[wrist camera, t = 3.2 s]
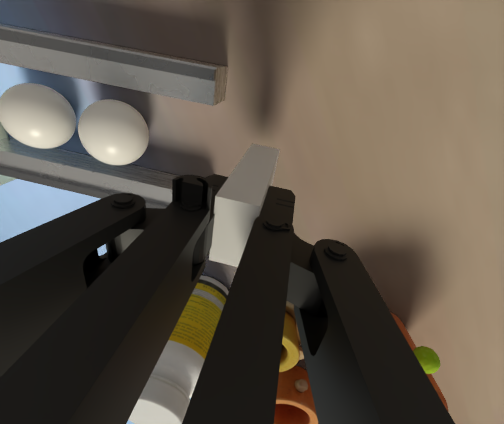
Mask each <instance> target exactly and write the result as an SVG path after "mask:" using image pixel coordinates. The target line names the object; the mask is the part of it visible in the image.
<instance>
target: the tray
mask: <svg viewBox="0 0 504 424" xmlns="http://www.w3.org/2000/svg"><path fill="white" fill-rule="evenodd" d="M4 138H8V134H7V131H6V130H5V128H4V127H3V125H2V124H1V122H0V139H4ZM15 179H17V178H13V177H9V176H4V175H0V185H3V184H5V183H8V182H10V181H13V180H15Z"/></svg>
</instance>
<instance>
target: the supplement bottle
mask: <svg viewBox="0 0 504 424" xmlns="http://www.w3.org/2000/svg"><path fill="white" fill-rule="evenodd" d="M228 293H229V291H228V290H227V288H226V287H225V286H224V285H223V284H221V283H220V282H219V281H217V280H215V279H213V278H211V277H207V276H202V275H201V277H200V279H199V281H198V283H197V285H196V286H195V288H194V290H193V292H192V294H191V296H190V298H189V300H188V302H187V304H186V306H185V308H184V310H183V312H182V314H181V316H180V318H179V320H178V322H177V324H176V326H175V328H174V330H173V332H172V334H171V336H170V338H169V340H168V342H167V344H166V346H165V348H164V350H163V352H162V354H161V356H160V358H159V360H158V362H157V364H156V366H155V368H154V370H153V372H152V374H151V376H150V378H149V380H148V381H147V383H146V385H145V387H144V389H143V391H142V393H141V395H140V397H139V399H138V401H137V403H136V405H135V407H134V409H133V411H132V413H131V415H130V417H129V420H130V421H132V422H133V423H135V424H182V422H183V419H184V416H185V414H186V411H187V408H188V405H189V402H190V398H191V397H192V394H193V391H194V388H195V386H196V383H197V380H198V377H199V374H200V372H201V369H202V366H203V363H204V360H205V358H206V355H207V352H208V349H209V346H210V344H211V341H212V338H213V335H214V332H215V330H216V327H217V324H218V321H219V318H220V316H221V313H222V310H223V307H224V304H225V302H226V299H227V296H228Z"/></svg>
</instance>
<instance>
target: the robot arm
mask: <svg viewBox="0 0 504 424" xmlns="http://www.w3.org/2000/svg"><path fill="white" fill-rule="evenodd" d="M279 151H280V149H276V148H272V147H267V146H262V145H257V144H253V143H252V145H251V146H250V148H249V149H248V150H247V152H246V153H245V155H244V156H243V157H242V159H241V160H240V162H239V163H238V165H237V166H236V167H235V169H234V170H233V172H232V173H231V175H230V176H229V177H225V176H221V175H216V174H213V175H211V176H208V177H206V178H203V177H200V176H194V175H183V176H178V177H176V178H174V179H172V202H171V203H170V204H169V205H168V206H167V207H166V208H146V202H145V200H144V198H143V197H141V196H139V195H136V194H133V193H119V194H113V195H110V196H107V197H105V198H103V199H100V200H98V201H96V202H93V203H91V204H89V205H86V206H84V207H82V208H79V209H77V210H75V211H72V212H70V213H68V214H65V215H63V216H61V217H59V218H56V219H54V220H52V221H49V222H47V223H45V224H42V225H40V226H38V227H35V228H33V229H31V230H28V231H26V232H24V233H22V234H19V235H17V236H15V237H12V238H10V239H8V240H5V241H3V242H1V243H0V424H126V423H127V421H128V419H129V417H130V415H131V413H132V411H133V409H134V407H135V405H136V403H137V401H138V399H139V397H140V395H141V393H142V391H143V389H144V387H145V385H146V383H147V381H148V380H149V378H150V376H151V374H152V372H153V370H154V368H155V366H156V364H157V362H158V360H159V358H160V356H161V354H162V352H163V350H164V348H165V346H166V344H167V342H168V340H169V338H170V336H171V334H172V332H173V330H174V328H175V326H176V324H177V322H178V320H179V318H180V316H181V314H182V312H183V310H184V308H185V306H186V304H187V302H188V300H189V298H190V296H191V294H192V292H193V290H194V288H195V286H196V285H197V283H198V281H199V279H200V277H201V275H202V273H203V271H204V268H205V261H206V256H207V254H208V252H209V250H210V254H209V260H211V261H215V262H219V263H223V264H227V265H231V266H235V267H238V268H237V271H236V274H235V276H234V279H233V282H232V285H231V288H230V290H229V293H228V296H227V299H226V302H225V304H224V307H223V310H222V313H221V316H220V318H219V321H218V324H217V327H216V330H215V332H214V335H213V338H212V341H211V344H210V346H209V349H208V352H207V355H206V358H205V360H204V363H203V366H202V369H201V372H200V374H199V377H198V380H197V383H196V386H195V388H194V391H193V394H192V397H191V400H190V402H189V405H188V408H187V411H186V414H185V416H184V419H183V422H182V424H274V417H275V408H276V398H277V388H278V379H279V369H280V359H281V350H282V340H283V330H284V321H285V311H286V301H288V302H290V303H292V304H294V313H295V318H296V323H297V327H298V332H299V336H300V341H301V346H302V350H303V355H304V359H305V364H306V368H307V373H308V378H309V382H310V387H311V391H312V396H313V401H314V405H315V410H316V414H317V419H318V423H319V424H455V423H454V421H453V419H452V418H451V416H450V414H449V413H448V411H447V409H446V407H445V406H444V404H443V402H442V400H441V399H440V397H439V395H438V394H437V392H436V390H435V388H434V387H433V385H432V383H431V382H430V380H429V378H428V376H427V375H426V373H425V371H424V369H423V368H422V366H421V364H420V363H419V361H418V359H417V357H416V356H415V354H414V352H413V351H412V349H411V347H410V345H409V344H408V342H407V340H406V338H405V337H404V335H403V333H402V332H401V330H400V328H399V326H398V325H397V323H396V321H395V320H394V318H393V316H392V314H391V313H390V311H389V309H388V307H387V306H386V304H385V302H384V301H383V299H382V297H381V295H380V294H379V292H378V290H377V289H376V287H375V285H374V283H373V282H372V280H371V278H370V276H369V275H368V273H367V271H366V270H365V268H364V266H363V264H362V263H361V261H360V259H359V257H358V256H357V254H356V253H355V252H354V251H353V249H351V248H350V247H348V246H347V245H346V244H344V243H342V242H339V241H336V240H331V239H322V240H320V241H317V242H316V244H315V245H314V246H313V245H311V244H309V243H307V242H305V241H303V240H301V239H300V238H299V237H297V235H296V234H295V233H294V228H293V225H292V222H293V213H294V203H295V195H294V194H293V192H292V191H291V190H287V189H282V188H278V187H274V186H272V184H273V179H274V175H275V170H276V165H277V161H278V156H279ZM104 244H106V249H107V253H105V254H104V255H101V256H99V255H98V251H97V248H99V247H101V246H102V245H104Z"/></svg>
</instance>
